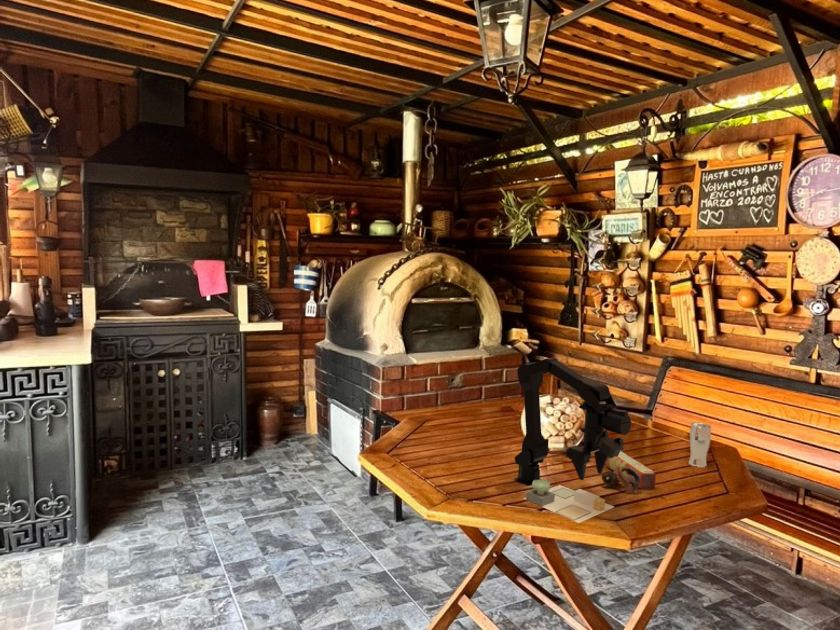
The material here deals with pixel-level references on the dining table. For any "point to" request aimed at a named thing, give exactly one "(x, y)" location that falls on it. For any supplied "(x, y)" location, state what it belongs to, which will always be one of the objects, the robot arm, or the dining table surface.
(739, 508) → the dining table surface
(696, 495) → the dining table surface
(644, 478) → the snack package
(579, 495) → the marker
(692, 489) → the dining table surface
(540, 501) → the button housing
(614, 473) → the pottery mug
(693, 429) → the beer glass
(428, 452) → the dining table surface
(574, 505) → the picture board
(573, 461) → the robot arm
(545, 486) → the button
